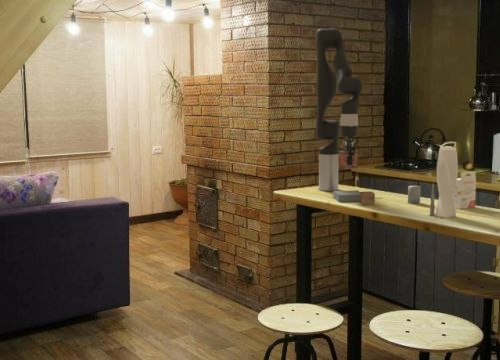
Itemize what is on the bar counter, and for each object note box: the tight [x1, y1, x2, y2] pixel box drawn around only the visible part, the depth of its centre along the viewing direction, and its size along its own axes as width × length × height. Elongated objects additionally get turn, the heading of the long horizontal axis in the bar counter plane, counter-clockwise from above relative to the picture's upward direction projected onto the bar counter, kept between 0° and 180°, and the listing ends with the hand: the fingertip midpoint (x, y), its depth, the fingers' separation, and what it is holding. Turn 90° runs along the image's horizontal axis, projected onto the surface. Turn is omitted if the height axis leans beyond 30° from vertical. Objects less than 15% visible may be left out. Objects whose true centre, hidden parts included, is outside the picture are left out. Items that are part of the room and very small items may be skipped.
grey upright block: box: [407, 185, 421, 205], centre depth 257 cm, size 5×5×7 cm
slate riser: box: [332, 189, 361, 203], centre depth 267 cm, size 11×11×3 cm
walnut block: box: [359, 190, 376, 206], centre depth 255 cm, size 5×5×5 cm
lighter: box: [338, 145, 359, 170], centre depth 264 cm, size 8×3×10 cm, turn 84°
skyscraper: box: [428, 141, 459, 219], centre depth 228 cm, size 8×8×28 cm
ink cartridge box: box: [453, 170, 477, 210], centre depth 245 cm, size 9×5×15 cm, turn 117°
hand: (348, 164), depth 265 cm, fingers closed on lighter, 3 cm apart
